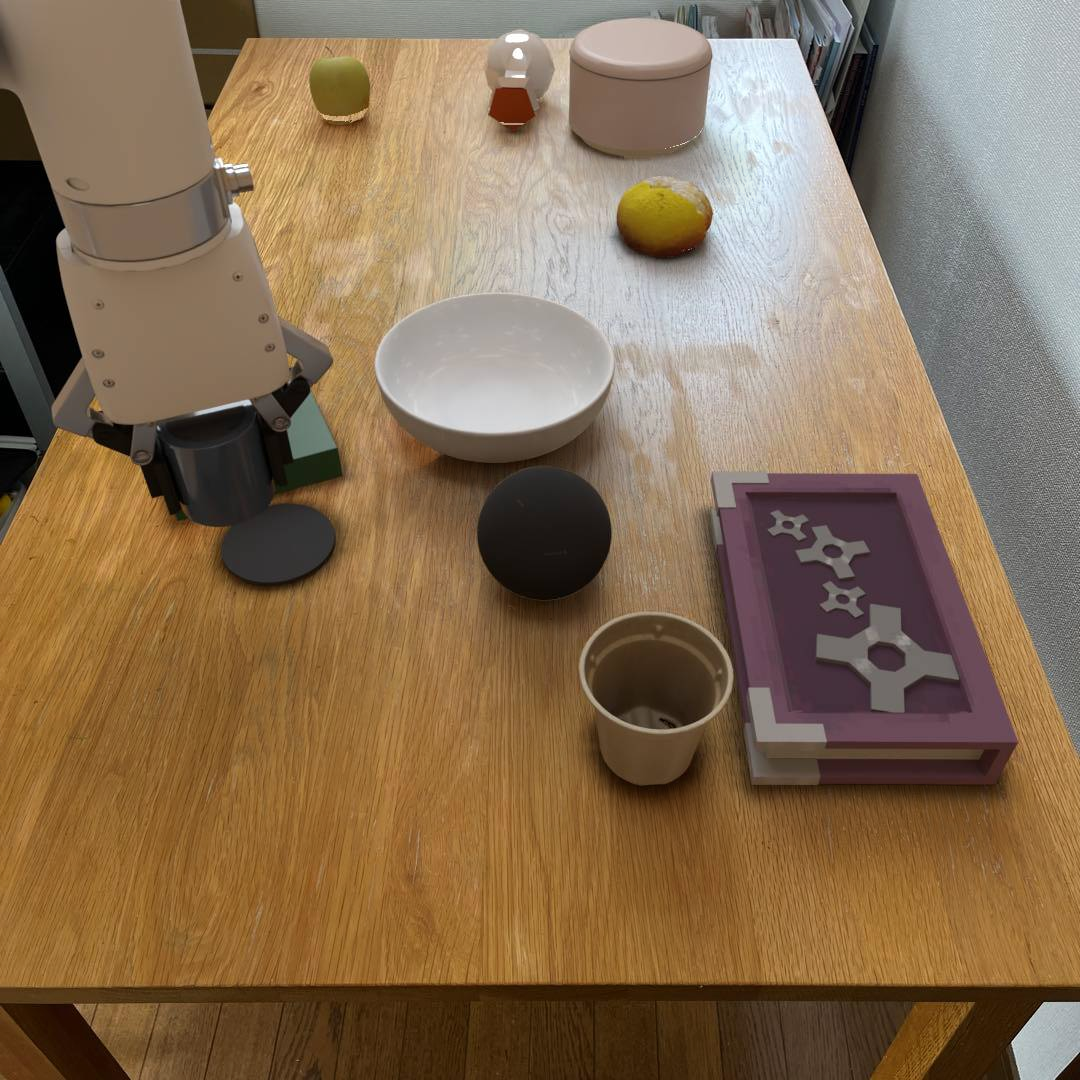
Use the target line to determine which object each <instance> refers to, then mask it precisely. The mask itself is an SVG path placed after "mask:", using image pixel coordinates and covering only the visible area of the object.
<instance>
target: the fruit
mask: <svg viewBox="0 0 1080 1080" xmlns="http://www.w3.org/2000/svg"><path fill="white" fill-rule="evenodd" d="M616 209H617V210H616V226H617V230H618V233H619V234H620V236H621V237H622V240H623V242H624V243H625V244H626V245H627V247H628V248H629V249H630V250H632V251H633V252H635V253H637V254H639V255H643V256H648V257H654V258H659V259H660V258H663V259H667V258H676V257H680V256H682V255H686V254H688V253H689V254H690V253H691V252H692V251H693V250H695V248H696V247H697V246H699V245H700V244H701V242H703V241H704V240H705V238H706V237H707V234H706V233H707V231H709V229H710V228H711V225H712V221H713V218H714V217H713V216H714V210H713V207H712V204H711V202H710V199H709V198H708V196H707V195H706V193H705V192H703V190H701V189H700V188H699V187H698V185H697V184H695V183H693V182H690V181H689V182H688V181H686V180H679V179H677V178H675V177H671V176H669V175H667V176H661V175H656V176H651V177H647V178H645V179H643V180H641V181H640V183H636V184H635V185H633V186H631V187H630V188H629V189H628V190H626V191H625V192H624V193H623V194H622V197H621V198H620V200H619V202H618V205H617V208H616ZM695 246H696V247H695ZM691 248H692V249H691ZM688 249H690V250H688ZM683 250H684V251H683Z"/></svg>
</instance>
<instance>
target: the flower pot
mask: <svg viewBox="0 0 1080 1080" xmlns="http://www.w3.org/2000/svg"><path fill="white" fill-rule="evenodd" d="M578 677H579V682H580V686H581V688H582V691H583V693H584V695H585V697H586V699H587V701H588V702H589V703H590V705H591V707H592V708H593V710H594V711H593V712H594V716H595V721H596V728H597V733H598V740H599V750H600V753H601V756H602V758H603V761H604V763H605V764H606V766H607V767H608V768H609V769H610V771H612V772H613V773H614V774H615V775H616V776H617V777H619V778H620V779H622V780H624V781H626V782H627V783H631V784H633V785H636V786H643V787H644V786H651V785H666V784H670V783H671V782H673V781H675V780H676V779H678V778H679V777H681V776H682V775H684V773H685V772H686V771H687V769H688V768H689V766H690V765H691V763H692V760H693V756H694V754H695V752H696V750H697V747H698V745H699V743H700V741H701V739H702V737H703V734H704V732H705V730H706V728H707V725H708V724H709V723H710V722H711V721H713V720H714V719H715V718H716V717H717V716H718V715H720V713H721V712H722V711H723V710H724V708H725V707H726V705H727V703H728V701H729V699H730V696H731V695H732V691H733V687H734V669H733V663H732V661H731V658H730V656H729V654H728V652H727V650H726V649H725V647H724V646H723V644H722V642H721V641H720V640H719V639H718V638H717V637H716V636H715V635H713V633H712V632H710V631H709V630H708V629H706V628H705V627H703V626H702V625H700V624H699V623H696V621H693V620H692V619H689V618H686V617H684V616H681V615H679V614H673V613H670V612H663V611H651V610H648V611H646V610H645V611H636V612H632V613H626V614H623V615H620V616H618V617H615V618H612V619H611V620H609V621H608V622H606V623H604V624H603V625H602V626H600V627H599V628H597V629H596V631H594V632H593V634H592V635H591V636H590V637H589V638H588V640H587V641H586V643H585V645H584V647H583V648H582V651H581V655H580V658H579V664H578ZM661 720H664V721H666V722H668V723H670V724H672V725H673V726H674V728H670V727H669V726H668V725H667V724H666V723H663V722H662V721H661Z"/></svg>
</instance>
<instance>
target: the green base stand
mask: <svg viewBox="0 0 1080 1080" xmlns="http://www.w3.org/2000/svg"><path fill="white" fill-rule="evenodd" d="M290 420H291V426H290V427H289V429H287V433H288V438H289V442H290V447H291V451H292V456H293V460H294V463H291V464H287V465H284V470H285V474H286V478H287V482H288V485H287V486H283V487H279V485H277V486H276V485H275V482H274V485H275V494H274V496H275V495H279V494H283V493H287V492H289V491H290V492H291V491H293V490H296V489H300V488H305V487H308V486H312V485H314V484H315V485H316V484H318V483H323V482H326V481H329V480H334V479H336V478H341V477H343V476H344V475H343V470H342V464H341V458H340V453H339V448H338V445H337V443H336V441H335V439H334V437H333V435H332V433H331V430H330V428H329V426H328V423H327V422H326V419H325V417H324V415H323V413H322V411H321V409H320V406H319V404H318V402H317V399H316V398H315V396H314V394H313V392H312V388H310V394H309V395H308V397H307V398H306V399H305V400H304V402H303V403H302V404H301V406H300V407H299V408H298V409H297V411H296V412H295V413H294V414H293V416H292V417H291V418H290ZM156 435H157V433H156ZM273 481H274V480H273ZM181 509H182V507H181ZM174 515H175V517H176V521H178V522H180V521H183V520H187V519H189V518H188V517H187V516H186V515H185V513H184V512H183V510H180V511H179V513H178V514H174Z"/></svg>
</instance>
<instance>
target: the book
mask: <svg viewBox="0 0 1080 1080" xmlns="http://www.w3.org/2000/svg"><path fill="white" fill-rule="evenodd" d="M710 484H711V490H712V496H713V503H714V508H711V509H710V514H709V520H710V527H711V533H712V539H713V546H714V552H715V554H716V555H717V563H718V569H719V575H720V580H721V588H722V594H723V600H724V601H723V602H724V607H725V613H726V614H725V615H726V619H727V626H728V633H729V638H730V645H731V651H732V658H733V664H734V670H735V677H736V683H737V689H738V695H739V702H740V709H741V714H742V715H741V716H742V721H743V738H744V743H745V750H746V757H747V762H748V769H749V776H750V783H751V785H752V786H819V785H840V784H841V785H969V786H970V785H973V786H974V785H982V786H983V785H985V786H986V785H991V786H992V785H993V786H994V785H996V783H997V781H998V780H999V777H1000V776H1001V774H1002V772H1003V770H1004V769H1005V767H1006V765H1007V764H1008V762H1009V760H1010V758H1011V756H1012V755H1013V753H1014V752H1015V750H1016V748H1017V745H1018V744H1019V740H1018V738H1017V735H1016V732H1015V730H1014V727H1013V724H1012V721H1011V719H1010V716H1009V713H1008V711H1007V709H1006V706H1005V703H1004V701H1003V697H1002V694H1001V692H1000V689H999V687H998V684H997V681H996V679H995V676H994V674H993V672H992V669H991V666H990V663H989V661H988V658H987V655H986V652H985V650H984V646H983V644H982V642H981V639H980V637H979V634H978V631H977V629H976V626H975V623H974V621H973V618H972V615H971V613H970V610H969V607H968V605H967V602H966V599H965V597H964V594H963V591H962V588H961V587H960V584H959V580H958V578H957V576H956V573H955V570H954V568H953V565H952V563H951V560H950V557H949V554H948V551H947V550H946V549H947V548H946V546H945V544H944V541H943V538H942V536H941V532H940V531H939V528H938V525H937V523H936V519H935V517H934V515H933V512H932V509H931V507H930V504H929V501H928V499H927V497H926V493H925V491H924V488H923V485H922V483H921V481H920V477H919V475H918V473H816V472H815V473H811V472H810V473H808V472H807V473H804V472H803V473H795V472H793V473H792V472H790V473H789V472H788V473H786V472H785V473H781V472H779V473H778V472H777V473H774V472H769V473H768V472H767V471H764V470H763V471H761V470H760V471H755V470H754V471H753V470H752V471H751V470H750V471H745V470H744V471H741V470H731V471H730V470H727V471H726V470H719V471H718V470H716V471H715V470H712V471H711V478H710Z"/></svg>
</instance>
